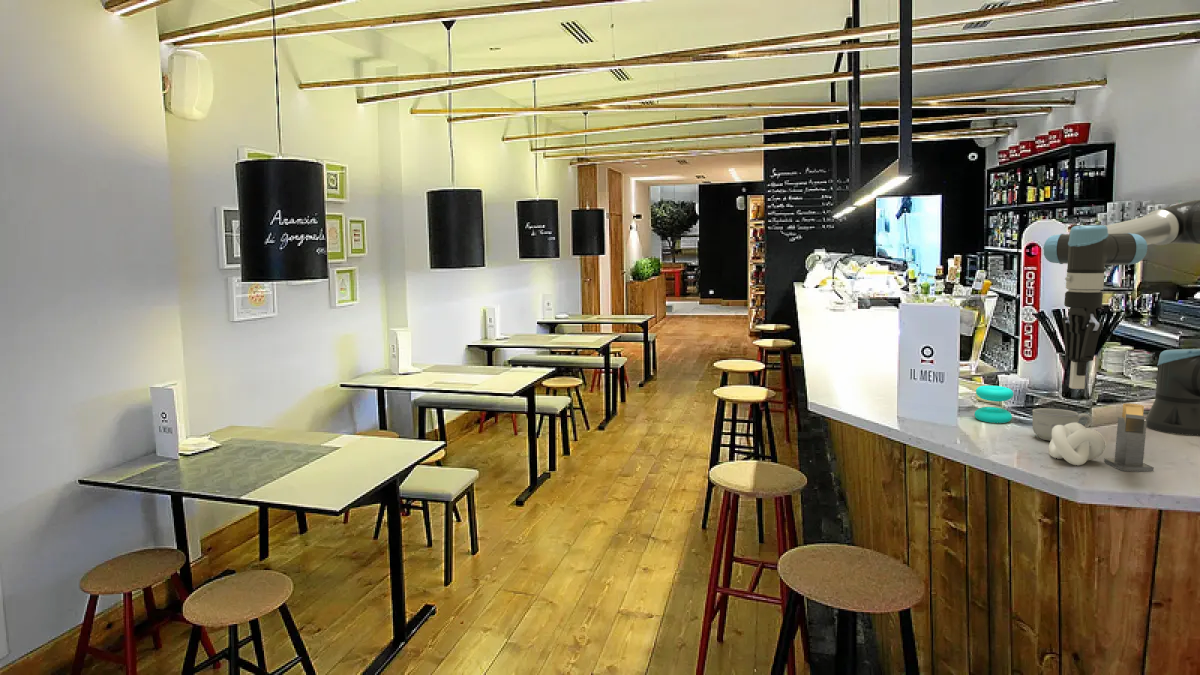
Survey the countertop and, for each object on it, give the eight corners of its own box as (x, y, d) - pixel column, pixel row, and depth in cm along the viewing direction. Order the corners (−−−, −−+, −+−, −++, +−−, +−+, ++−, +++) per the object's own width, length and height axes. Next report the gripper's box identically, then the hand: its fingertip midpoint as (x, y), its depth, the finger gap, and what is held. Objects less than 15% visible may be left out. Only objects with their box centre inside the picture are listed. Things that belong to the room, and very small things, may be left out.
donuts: (970, 384, 225) (1003, 384, 225) (968, 416, 226) (1001, 416, 226) (985, 391, 215) (1020, 391, 215) (983, 424, 216) (1018, 424, 216)
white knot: (1085, 471, 172) (1088, 434, 170) (1033, 459, 182) (1035, 424, 181) (1109, 463, 178) (1111, 427, 176) (1056, 452, 188) (1059, 418, 186)
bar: (1121, 415, 176) (1123, 402, 176) (1142, 417, 174) (1143, 404, 173) (1122, 431, 161) (1124, 417, 161) (1145, 434, 159) (1146, 419, 159)
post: (1134, 462, 178) (1138, 416, 177) (1153, 471, 171) (1157, 423, 170) (1103, 462, 179) (1107, 415, 177) (1122, 471, 172) (1126, 422, 170)
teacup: (1031, 441, 197) (1033, 412, 196) (1029, 432, 207) (1031, 404, 206) (1093, 448, 191) (1095, 418, 190) (1088, 438, 200) (1090, 409, 199)
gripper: (1052, 289, 181) (1046, 382, 184) (1083, 292, 168) (1075, 393, 171) (1084, 288, 180) (1077, 383, 183) (1117, 292, 167) (1109, 393, 170)
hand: (1076, 388), depth 177 cm, fingers closed
